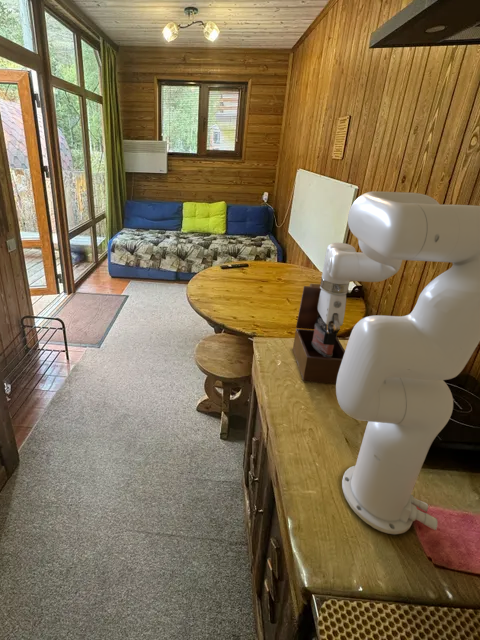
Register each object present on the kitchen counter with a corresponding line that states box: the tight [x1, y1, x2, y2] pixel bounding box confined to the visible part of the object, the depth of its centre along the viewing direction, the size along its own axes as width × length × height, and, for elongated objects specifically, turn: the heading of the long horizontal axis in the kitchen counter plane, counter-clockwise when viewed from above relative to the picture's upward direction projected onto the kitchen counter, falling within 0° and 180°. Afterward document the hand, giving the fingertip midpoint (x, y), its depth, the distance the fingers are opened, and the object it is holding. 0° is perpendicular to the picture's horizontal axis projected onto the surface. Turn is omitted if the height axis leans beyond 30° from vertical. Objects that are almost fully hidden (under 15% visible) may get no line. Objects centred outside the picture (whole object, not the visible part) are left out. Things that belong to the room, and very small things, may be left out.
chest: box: [292, 328, 346, 385], centre depth 100 cm, size 16×13×9 cm
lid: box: [295, 283, 334, 330], centre depth 104 cm, size 16×13×6 cm
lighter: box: [311, 318, 338, 358], centre depth 96 cm, size 8×3×10 cm, turn 19°
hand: (324, 335), depth 96 cm, fingers closed on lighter, 7 cm apart
